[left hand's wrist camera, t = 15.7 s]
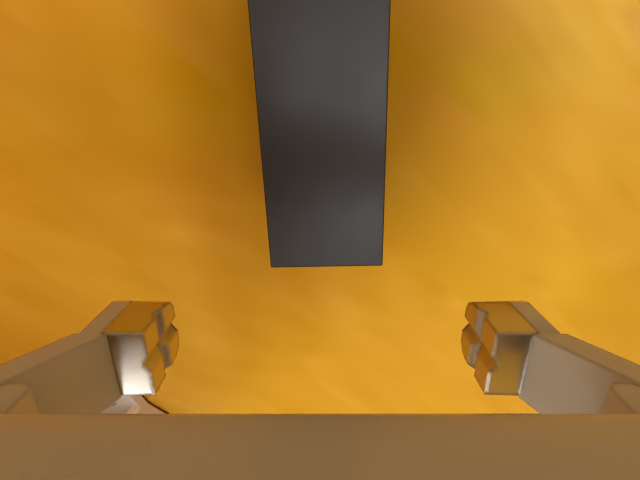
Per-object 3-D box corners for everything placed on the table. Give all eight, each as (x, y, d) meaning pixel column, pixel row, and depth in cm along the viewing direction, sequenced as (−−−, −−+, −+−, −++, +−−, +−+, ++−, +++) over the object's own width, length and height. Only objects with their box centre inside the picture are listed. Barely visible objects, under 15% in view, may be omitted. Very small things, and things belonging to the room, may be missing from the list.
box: (365, 207, 31) (382, 265, 20) (291, 209, 31) (270, 267, 21) (370, -243, 21) (408, -576, 11) (263, -235, 22) (198, -554, 11)
